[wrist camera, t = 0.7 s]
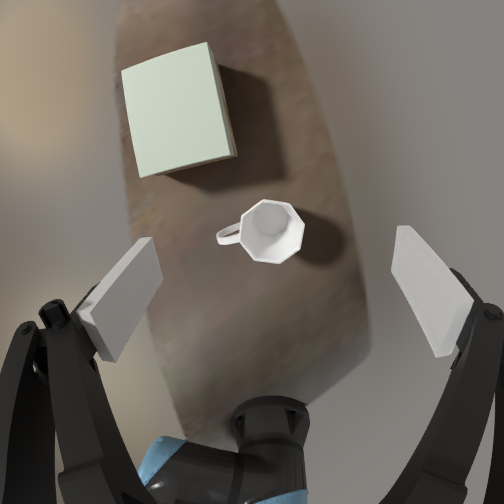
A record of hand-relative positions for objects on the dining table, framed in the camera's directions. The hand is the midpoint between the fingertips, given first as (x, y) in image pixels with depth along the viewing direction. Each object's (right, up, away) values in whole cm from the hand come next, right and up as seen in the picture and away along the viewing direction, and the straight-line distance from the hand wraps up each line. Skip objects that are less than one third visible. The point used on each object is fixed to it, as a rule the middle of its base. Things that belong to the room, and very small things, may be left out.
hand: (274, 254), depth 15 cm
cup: (0, +4, +23) cm, 23 cm away
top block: (-9, +16, +15) cm, 24 cm away
